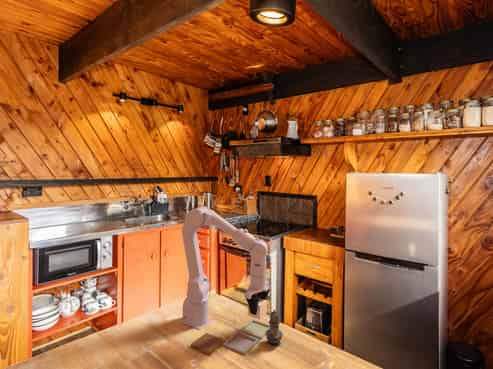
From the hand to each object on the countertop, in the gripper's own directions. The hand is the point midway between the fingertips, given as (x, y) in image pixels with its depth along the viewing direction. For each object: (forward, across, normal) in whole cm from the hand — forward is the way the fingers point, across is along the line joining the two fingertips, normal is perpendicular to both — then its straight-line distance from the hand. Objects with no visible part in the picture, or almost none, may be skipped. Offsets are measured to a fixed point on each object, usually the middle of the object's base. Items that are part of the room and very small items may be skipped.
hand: (257, 310), depth 108 cm
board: (+7, -17, +9) cm, 21 cm away
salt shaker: (+7, -4, -9) cm, 12 cm away
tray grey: (+7, -10, 0) cm, 13 cm away
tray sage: (+7, 0, 0) cm, 7 cm away
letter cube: (+1, 0, 0) cm, 1 cm away
